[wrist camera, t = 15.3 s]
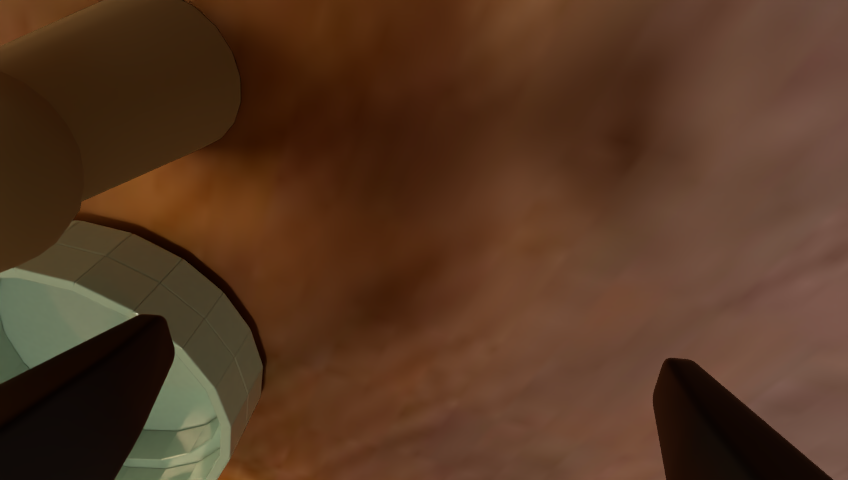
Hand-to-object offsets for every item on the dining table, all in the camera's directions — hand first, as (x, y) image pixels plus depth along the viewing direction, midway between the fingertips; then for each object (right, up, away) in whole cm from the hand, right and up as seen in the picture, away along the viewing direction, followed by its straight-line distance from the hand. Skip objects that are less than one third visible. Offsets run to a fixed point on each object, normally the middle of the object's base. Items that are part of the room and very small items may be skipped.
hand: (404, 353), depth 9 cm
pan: (-15, -3, +18) cm, 24 cm away
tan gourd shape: (-10, +8, +11) cm, 17 cm away
